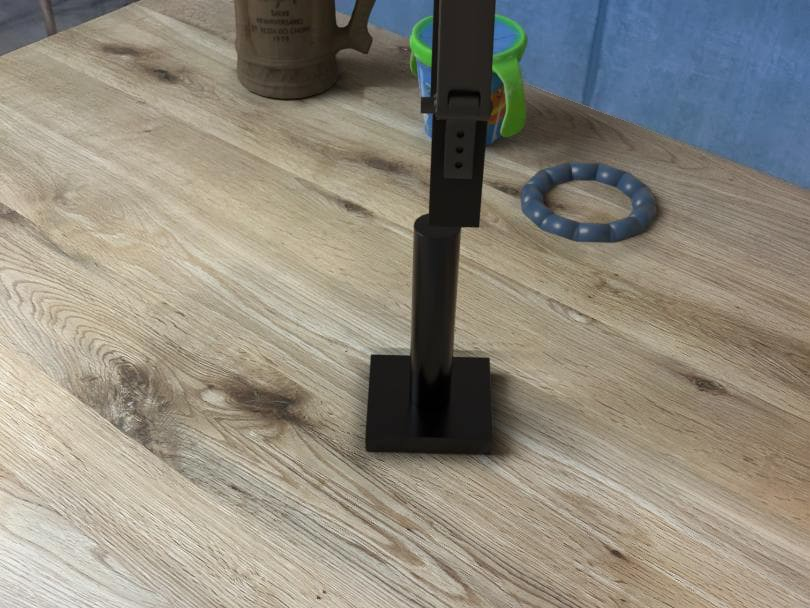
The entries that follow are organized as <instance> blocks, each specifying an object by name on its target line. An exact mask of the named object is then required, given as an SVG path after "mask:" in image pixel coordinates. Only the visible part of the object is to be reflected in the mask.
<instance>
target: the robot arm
mask: <svg viewBox="0 0 810 608" xmlns="http://www.w3.org/2000/svg"><path fill="white" fill-rule="evenodd" d="M432 6H433V8H432V15H433V33H432V60H431V88H430V97H421V96H420V114H422V115H423V114H432V139H431V138H430V139H431V140H430V142H431V143H430V169H429V171H430V172H429V196H428V201H429V202H428V213H429V218H428V226H434V227H461V228H471V229H472V228H474V229H476V228H477V229H480V222H481V209H482V198H483V197H482V196H483V187H484V186H483V185H484V171H485V159H486V149H487V148H486V147H487V146H486V136H487V123H488V121H489V118H491V113H493V101H492V99H491V84H492V65H493V45H494V26H495V14H496V6H497V0H433V5H432Z"/></svg>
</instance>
